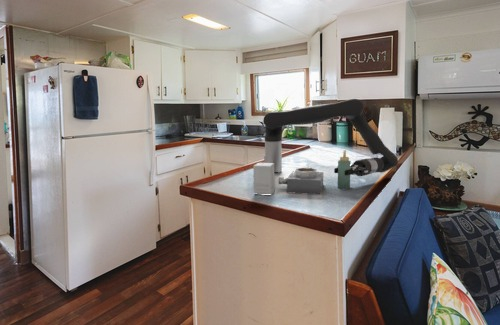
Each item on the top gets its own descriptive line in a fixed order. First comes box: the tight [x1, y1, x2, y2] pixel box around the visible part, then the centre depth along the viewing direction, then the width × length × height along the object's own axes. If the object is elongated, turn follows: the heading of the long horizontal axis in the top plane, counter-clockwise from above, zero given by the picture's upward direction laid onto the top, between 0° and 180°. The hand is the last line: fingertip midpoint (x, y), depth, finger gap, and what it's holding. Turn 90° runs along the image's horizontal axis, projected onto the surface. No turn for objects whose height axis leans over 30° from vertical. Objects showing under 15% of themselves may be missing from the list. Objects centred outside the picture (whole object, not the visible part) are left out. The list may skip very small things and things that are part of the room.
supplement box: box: [252, 162, 276, 195], centre depth 131 cm, size 7×7×13 cm
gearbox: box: [277, 167, 324, 195], centre depth 137 cm, size 19×16×8 cm
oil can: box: [337, 149, 352, 190], centre depth 136 cm, size 5×5×17 cm
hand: (340, 171), depth 135 cm, fingers closed on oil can, 5 cm apart
